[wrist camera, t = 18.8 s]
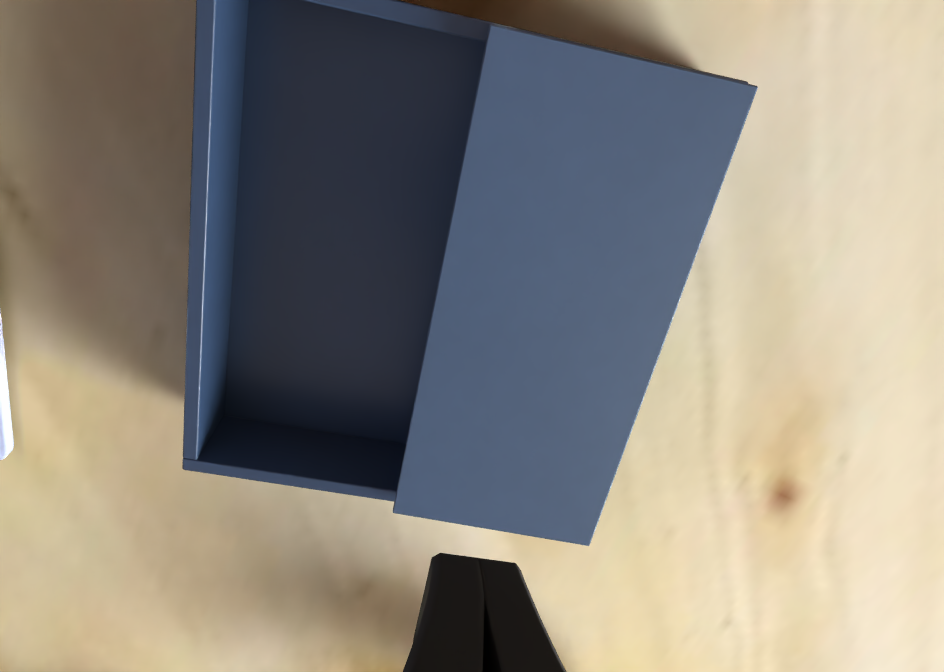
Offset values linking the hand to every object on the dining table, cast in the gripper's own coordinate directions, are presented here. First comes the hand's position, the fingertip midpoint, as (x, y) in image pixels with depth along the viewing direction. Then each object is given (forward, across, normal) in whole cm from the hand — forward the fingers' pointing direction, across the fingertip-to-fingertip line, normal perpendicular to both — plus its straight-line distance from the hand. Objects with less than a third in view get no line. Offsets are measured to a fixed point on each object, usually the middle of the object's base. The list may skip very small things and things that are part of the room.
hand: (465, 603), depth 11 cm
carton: (+10, +1, -2) cm, 11 cm away
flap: (+7, -2, -2) cm, 8 cm away
